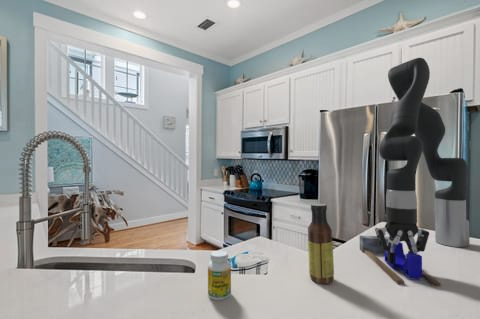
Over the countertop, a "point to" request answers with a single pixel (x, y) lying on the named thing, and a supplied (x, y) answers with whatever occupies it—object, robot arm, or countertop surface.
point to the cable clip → (407, 263)
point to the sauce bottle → (320, 246)
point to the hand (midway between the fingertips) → (401, 264)
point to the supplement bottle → (219, 276)
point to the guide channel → (372, 246)
